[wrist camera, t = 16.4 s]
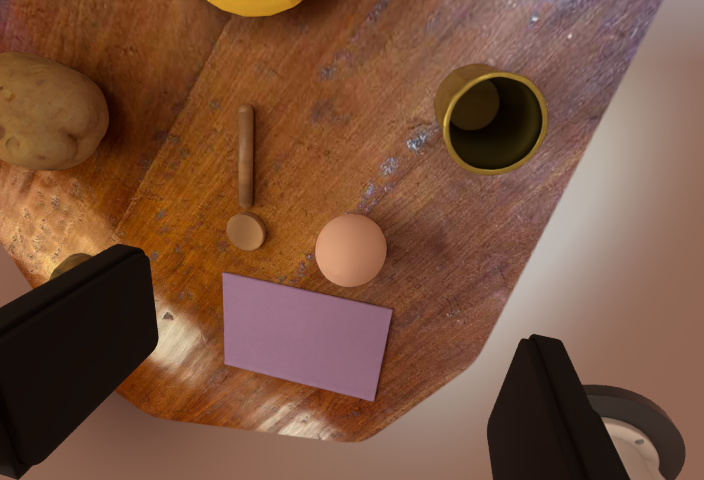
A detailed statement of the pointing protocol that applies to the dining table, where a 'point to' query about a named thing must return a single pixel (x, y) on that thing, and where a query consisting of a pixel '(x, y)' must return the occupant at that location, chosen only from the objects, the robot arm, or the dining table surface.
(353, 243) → the egg
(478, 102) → the vase
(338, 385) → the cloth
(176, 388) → the dining table surface
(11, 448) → the robot arm
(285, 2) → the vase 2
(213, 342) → the dining table surface
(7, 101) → the potato
